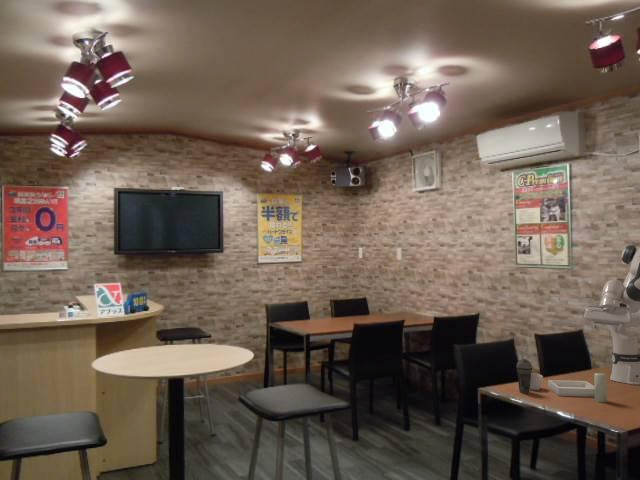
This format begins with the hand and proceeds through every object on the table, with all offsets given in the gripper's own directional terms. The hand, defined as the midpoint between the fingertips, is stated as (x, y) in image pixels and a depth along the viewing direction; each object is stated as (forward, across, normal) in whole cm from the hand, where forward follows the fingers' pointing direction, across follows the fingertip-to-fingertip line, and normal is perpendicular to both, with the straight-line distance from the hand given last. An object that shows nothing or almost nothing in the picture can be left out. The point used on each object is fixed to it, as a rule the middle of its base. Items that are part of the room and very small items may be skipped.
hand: (605, 330), depth 255 cm
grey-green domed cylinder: (+29, 0, +14) cm, 32 cm away
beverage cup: (+32, -32, +12) cm, 47 cm away
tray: (+22, -13, +22) cm, 33 cm away
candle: (+25, -30, +19) cm, 44 cm away
